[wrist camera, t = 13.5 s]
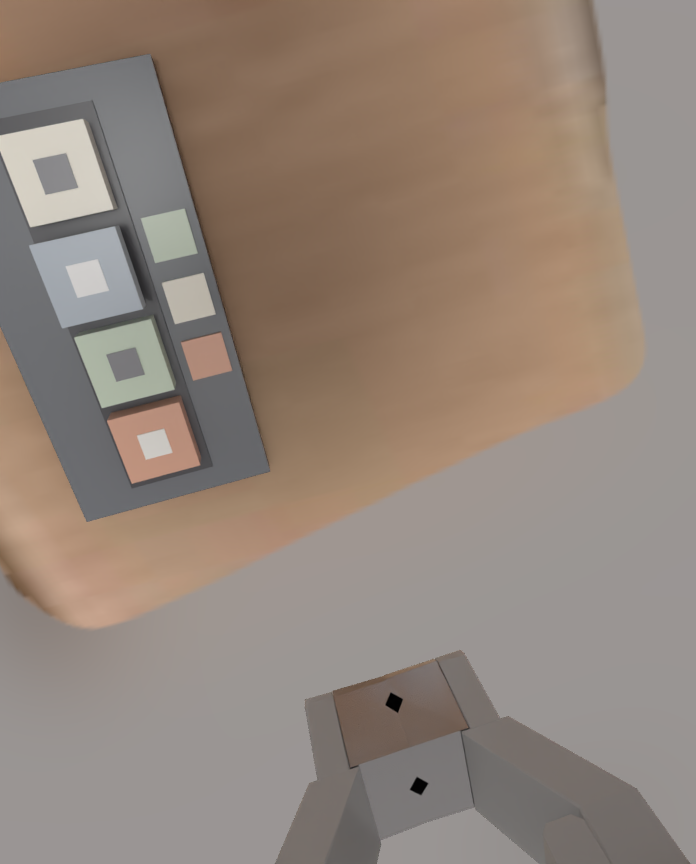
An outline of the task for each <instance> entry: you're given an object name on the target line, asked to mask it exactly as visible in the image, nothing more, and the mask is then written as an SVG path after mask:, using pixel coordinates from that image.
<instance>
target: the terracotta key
mask: <svg viewBox="0 0 696 864" xmlns="http://www.w3.org/2000/svg"><path fill="white" fill-rule="evenodd" d="M107 422H108V425H109V427H110V430H111V433H112V435H113V438H114V440H115V443H116V445H117V448H118V450H119V453H120V455H121V458H122V460H123V463H124V465H125V468H126V470H127V473H128V475H129V478H130V481H131V483H132V484H133V483H137V482H140V481H144V480H148V479H151V478H155V477H159V476H162V475H166V474H170V473H174V472H177V471H181V470H185V469H188V468H192V467H196V466H200V463H201V455H200V452H199V449H198V446H197V443H196V440H195V437H194V434H193V431H192V428H191V425H190V422H189V419H188V416H187V413H186V410H185V407H184V404H183V401H182V398H181V395H179V396H175V397H171V398H167V399H163V400H160V401H156V402H152V403H148V404H144V405H140V406H136V407H132V408H128V409H124V410H120V411H117V412H113V413H111V414H110V416H109V418H108V420H107Z"/></svg>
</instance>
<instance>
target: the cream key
mask: <svg viewBox="0 0 696 864" xmlns="http://www.w3.org/2000/svg"><path fill="white" fill-rule="evenodd" d="M0 152H1V155H2V157H3V160H4V162H5V165H6V168H7V170H8V173H9V175H10V178H11V180H12V183H13V185H14V188H15V190H16V193H17V195H18V198H19V200H20V203H21V205H22V208H23V210H24V213H25V215H26V218H27V221H28V223H29V226H30V227H37V226H42V225H46V224H51V223H55V222H60V221H64V220H69V219H73V218H78V217H83V216H87V215H92V214H96V213H101V212H105V211H110V210H114V209H118V208H117V205H116V202H115V199H114V196H113V193H112V190H111V187H110V184H109V181H108V178H107V175H106V172H105V169H104V166H103V163H102V160H101V158H100V155H99V152H98V149H97V146H96V143H95V140H94V137H93V134H92V131H91V128H90V125H89V122H88V121H86V120H84V119H79V120H74V121H69V122H64V123H59V124H54V125H49V126H44V127H39V128H34V129H29V130H24V131H20V132H15V133H10V134H5V135H0Z"/></svg>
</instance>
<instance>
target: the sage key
mask: <svg viewBox="0 0 696 864" xmlns="http://www.w3.org/2000/svg"><path fill="white" fill-rule="evenodd" d="M74 339H75V342H76V344H77V347H78V349H79V352H80V354H81V357H82V359H83V362H84V364H85V367H86V369H87V372H88V375H89V377H90V380H91V382H92V385H93V387H94V390H95V392H96V395H97V397H98V400H99V402H100V405H101V407H102V408H105V407H109V406H113V405H116V404H120V403H124V402H128V401H132V400H136V399H140V398H144V397H148V396H152V395H156V394H160V393H164V392H167V391H171V390H175V386H176V381H175V378H174V375H173V372H172V369H171V366H170V363H169V360H168V357H167V354H166V351H165V348H164V345H163V342H162V339H161V336H160V333H159V330H158V327H157V324H156V321H155V318H154V315H150V316H146V317H141V318H137V319H133V320H129V321H125V322H121V323H116V324H112V325H108V326H104V327H100V328H96V329H91V330H87V331H83V332H79V333H78V334H77V335H76V336H75V337H74Z"/></svg>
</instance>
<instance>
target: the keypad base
mask: <svg viewBox="0 0 696 864" xmlns="http://www.w3.org/2000/svg"><path fill="white" fill-rule="evenodd" d="M79 119H84V120H86V121H88V122H89V125H90V128H91V131H92V134H93V137H94V140H95V143H96V146H97V149H98V152H99V155H100V158H101V160H102V163H103V166H104V169H105V172H106V175H107V178H108V181H109V184H110V187H111V190H112V193H113V196H114V199H115V202H116V205H117V208H118V209H114V210H110V211H105V212H101V213H96V214H92V215H87V216H83V217H78V218H73V219H69V220H64V221H60V222H55V223H51V224H46V225H42V226H37V227H30V226H29V223H28V221H27V218H26V215H25V213H24V210H23V208H22V205H21V203H20V200H19V198H18V195H17V193H16V190H15V188H14V185H13V183H12V180H11V178H10V175H9V173H8V170H7V168H6V165H5V162H4V160H3V157H2V155H1V152H0V327H1V329H2V332H3V334H4V336H5V338H6V341H7V343H8V345H9V347H10V350H11V352H12V354H13V356H14V359H15V361H16V363H17V365H18V368H19V370H20V372H21V374H22V377H23V379H24V381H25V383H26V386H27V388H28V390H29V393H30V395H31V397H32V399H33V402H34V404H35V406H36V408H37V411H38V413H39V415H40V417H41V420H42V422H43V424H44V426H45V429H46V431H47V433H48V435H49V438H50V440H51V442H52V444H53V447H54V449H55V451H56V453H57V456H58V458H59V460H60V462H61V465H62V467H63V469H64V471H65V474H66V476H67V478H68V480H69V483H70V485H71V487H72V489H73V492H74V494H75V496H76V499H77V501H78V503H79V505H80V508H81V510H82V512H83V514H84V517H85V519H86V521H87V522H88V521H92V520H96V519H99V518H103V517H106V516H110V515H114V514H117V513H121V512H125V511H128V510H132V509H136V508H139V507H143V506H147V505H150V504H154V503H157V502H161V501H165V500H168V499H172V498H176V497H179V496H183V495H187V494H190V493H194V492H197V491H201V490H205V489H208V488H212V487H216V486H219V485H223V484H227V483H230V482H234V481H237V480H241V479H245V478H248V477H252V476H256V475H259V474H263V473H267V472H270V468H269V463H268V460H267V456H266V453H265V449H264V446H263V442H262V439H261V435H260V432H259V429H258V425H257V422H256V418H255V415H254V411H253V408H252V404H251V401H250V397H249V394H248V390H247V387H246V383H245V380H244V376H243V373H242V369H241V366H240V362H239V359H238V355H237V352H236V348H235V345H234V341H233V338H232V334H231V331H230V328H229V324H228V321H227V317H226V314H225V310H224V307H223V303H222V300H221V296H220V293H219V289H218V286H217V282H216V279H215V275H214V272H213V268H212V265H211V261H210V258H209V254H208V251H207V247H206V244H205V240H204V237H203V233H202V230H201V226H200V223H199V220H198V216H197V213H196V209H195V206H194V202H193V199H192V195H191V192H190V188H189V185H188V181H187V178H186V174H185V171H184V167H183V164H182V160H181V157H180V153H179V150H178V146H177V143H176V139H175V136H174V132H173V129H172V125H171V122H170V119H169V115H168V112H167V108H166V105H165V101H164V98H163V94H162V91H161V87H160V84H159V80H158V77H157V73H156V70H155V66H154V63H153V59H152V57H151V55H150V54H147V55H142V56H136V57H131V58H126V59H121V60H116V61H110V62H105V63H100V64H95V65H90V66H84V67H79V68H74V69H69V70H64V71H58V72H53V73H48V74H43V75H38V76H33V77H27V78H22V79H17V80H12V81H7V82H1V83H0V135H5V134H10V133H15V132H20V131H24V130H29V129H34V128H39V127H44V126H49V125H54V124H59V123H64V122H69V121H74V120H79ZM118 225H119V227H120V230H121V233H122V236H123V239H124V241H125V244H126V247H127V250H128V253H129V256H130V259H131V262H132V265H133V268H134V271H135V274H136V277H137V280H138V283H139V286H140V289H141V292H142V295H143V298H144V300H145V303H146V306H145V307H144V309H142V310H137V311H133V312H129V313H125V314H121V315H117V316H112V317H108V318H104V319H100V320H96V321H91V322H87V323H83V324H79V325H75V326H71V327H66V328H62V327H61V325H60V322H59V320H58V317H57V315H56V312H55V310H54V307H53V305H52V302H51V300H50V297H49V295H48V292H47V290H46V287H45V285H44V282H43V280H42V277H41V275H40V272H39V270H38V267H37V265H36V262H35V260H34V257H33V255H32V253H31V250H30V248H29V245H33V244H37V243H42V242H46V241H51V240H55V239H60V238H64V237H69V236H73V235H78V234H82V233H87V232H91V231H96V230H100V229H105V228H109V227H114V226H118ZM150 315H154V318H155V321H156V324H157V327H158V330H159V333H160V336H161V339H162V342H163V345H164V348H165V351H166V354H167V357H168V360H169V363H170V366H171V369H172V372H173V375H174V378H175V381H176V386H175V390H171V391H167V392H164V393H160V394H156V395H152V396H148V397H144V398H140V399H136V400H132V401H128V402H124V403H120V404H116V405H113V406H109V407H105V408H102V407H101V405H100V402H99V400H98V397H97V395H96V392H95V390H94V387H93V385H92V382H91V380H90V377H89V375H88V372H87V369H86V367H85V364H84V362H83V359H82V357H81V354H80V352H79V349H78V347H77V344H76V342H75V339H74V337H75V336H76V335H77V334H78V333H79V332H83V331H87V330H91V329H96V328H100V327H104V326H108V325H112V324H116V323H121V322H125V321H129V320H133V319H137V318H141V317H146V316H150ZM179 395H181V398H182V401H183V404H184V407H185V410H186V413H187V416H188V419H189V422H190V425H191V428H192V431H193V434H194V437H195V440H196V443H197V446H198V449H199V452H200V455H201V463H200V466H196V467H192V468H188V469H185V470H181V471H177V472H174V473H170V474H166V475H162V476H159V477H155V478H151V479H148V480H144V481H140V482H137V483H133V484H132V483H131V481H130V478H129V475H128V473H127V470H126V468H125V465H124V463H123V460H122V458H121V455H120V453H119V450H118V448H117V445H116V443H115V440H114V438H113V435H112V433H111V430H110V427H109V425H108V422H107V420H108V418H109V416H110V414H111V413H113V412H117V411H120V410H124V409H128V408H132V407H136V406H140V405H144V404H148V403H152V402H156V401H160V400H163V399H167V398H171V397H175V396H179Z"/></svg>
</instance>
